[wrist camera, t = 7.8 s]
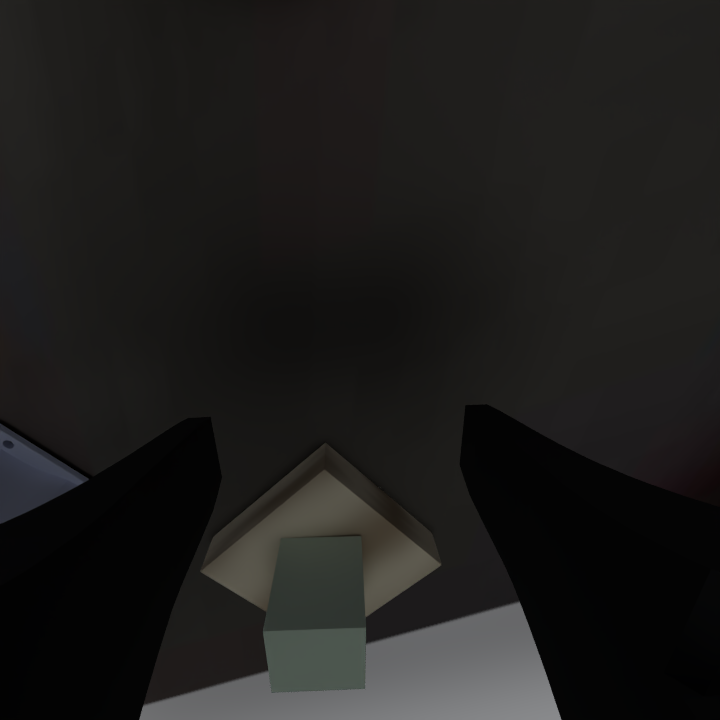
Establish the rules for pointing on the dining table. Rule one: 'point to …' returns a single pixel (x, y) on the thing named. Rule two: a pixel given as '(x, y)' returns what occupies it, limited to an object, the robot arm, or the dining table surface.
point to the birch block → (323, 531)
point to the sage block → (317, 616)
